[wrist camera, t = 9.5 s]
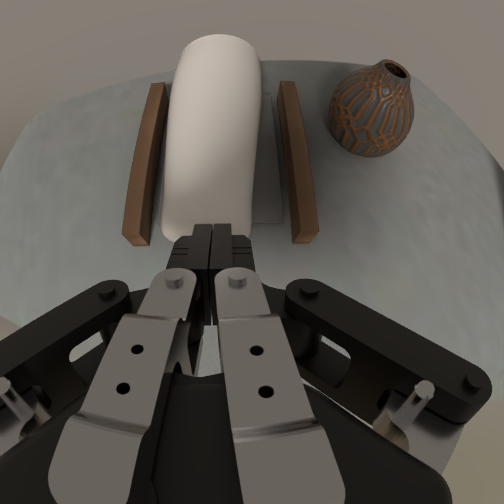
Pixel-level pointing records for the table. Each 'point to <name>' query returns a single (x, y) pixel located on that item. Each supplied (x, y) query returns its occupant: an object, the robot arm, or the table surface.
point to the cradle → (265, 174)
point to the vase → (372, 109)
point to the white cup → (212, 137)
